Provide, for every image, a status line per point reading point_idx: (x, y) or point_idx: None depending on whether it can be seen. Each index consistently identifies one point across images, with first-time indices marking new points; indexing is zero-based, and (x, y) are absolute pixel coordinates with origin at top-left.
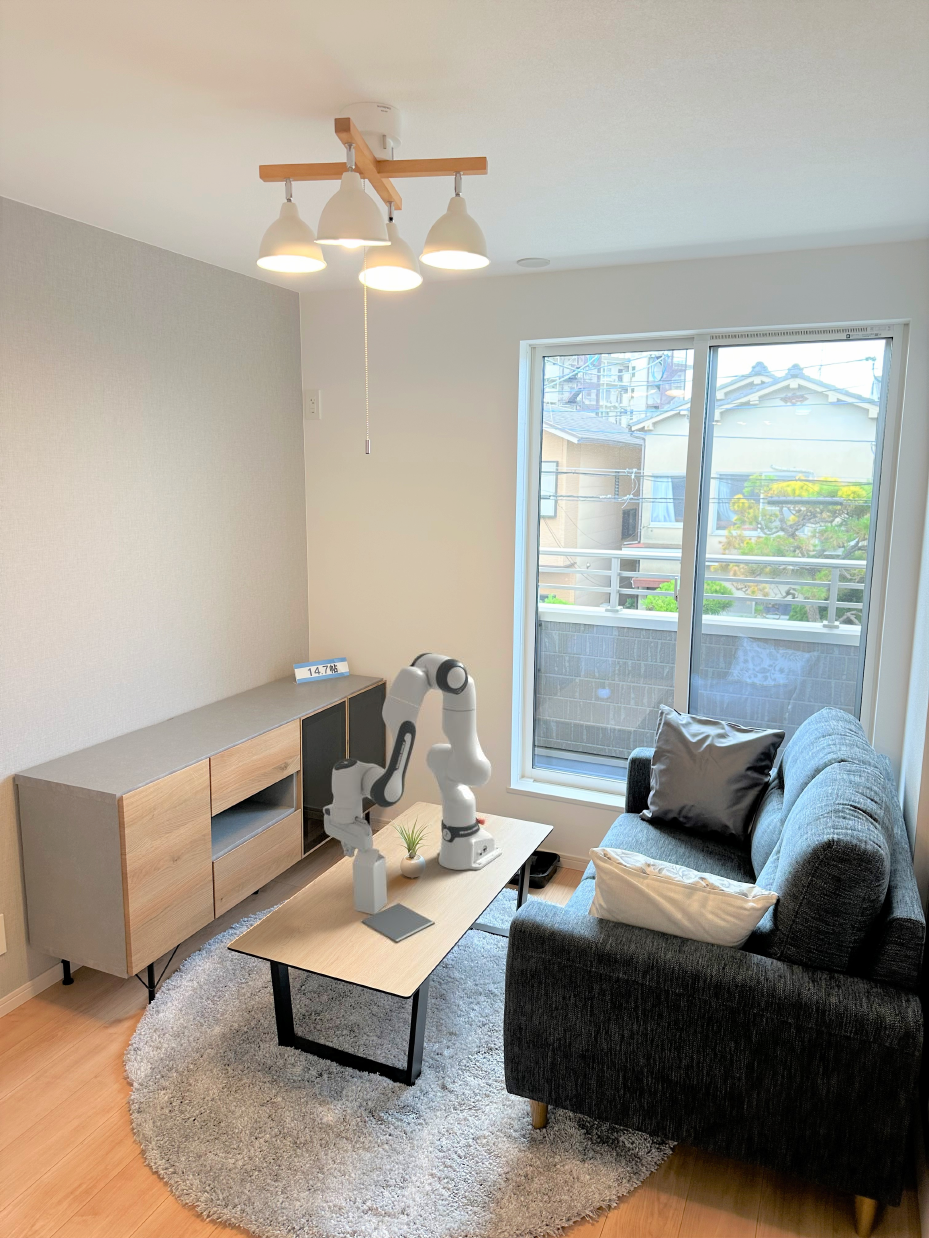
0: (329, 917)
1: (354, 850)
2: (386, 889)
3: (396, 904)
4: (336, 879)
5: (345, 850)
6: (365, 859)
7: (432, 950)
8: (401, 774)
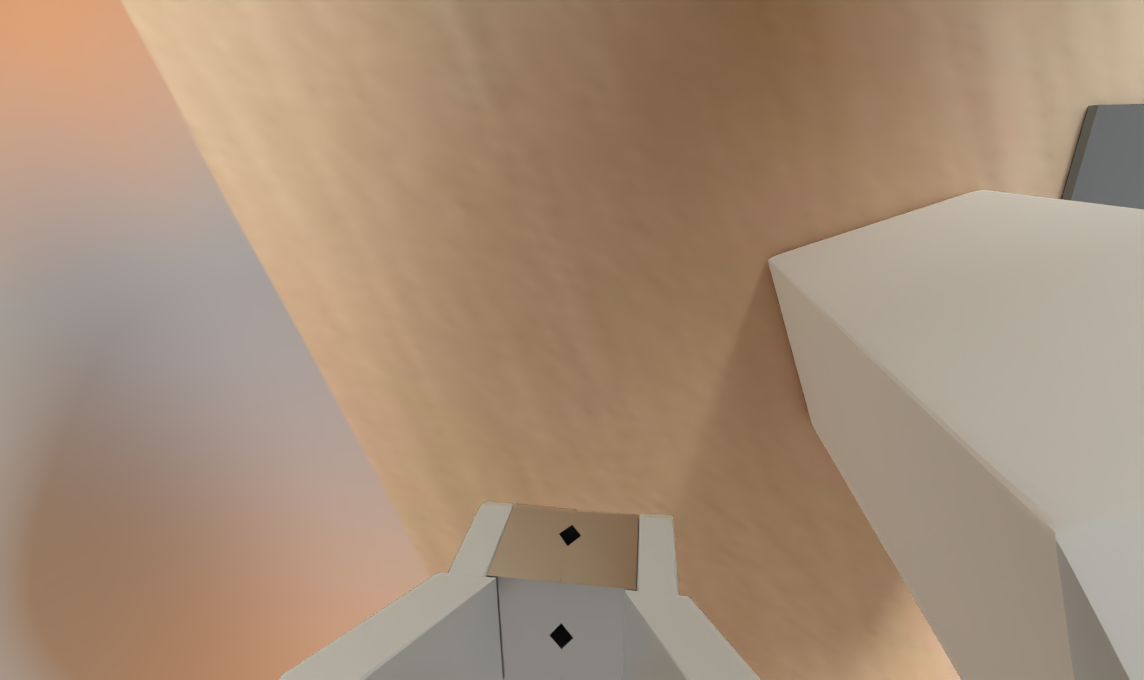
0: (740, 568)
1: (695, 610)
2: (1092, 205)
3: (1093, 141)
4: (316, 219)
5: (514, 677)
6: None
7: None
8: None
